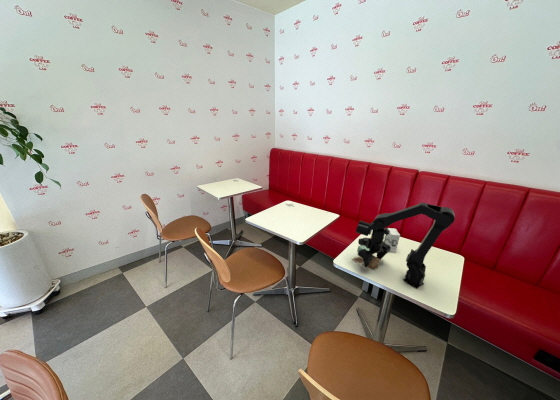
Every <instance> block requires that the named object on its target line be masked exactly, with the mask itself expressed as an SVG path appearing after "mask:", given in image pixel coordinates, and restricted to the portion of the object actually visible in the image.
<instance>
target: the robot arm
mask: <svg viewBox="0 0 560 400" xmlns="http://www.w3.org/2000/svg"><path fill="white" fill-rule="evenodd" d="M419 215H423V216H426V217H428V218H430V219H432V220H433V224H432V225H431V227H430V229H429V230H428V232H427V233H426V235H425V236H424V238H423V239H422V240H421V242H420V244H419V246H418V247H417V248H416V249H415V250H414V249H410V252H409V253H408V254H407V256H406V260H405V262H406V267H407V270H406V272H405V275H404V278H403V281H404V282H405V283H407V284H409V285H410V286H411V287H413V288H414V289H419V288H420V287H422V286H423V285H424V284H425V282H424V280H425V277H426V269H427V268H426V267H427V266H426V264H425V263H424V262H425V261H424V260H425V259H426V256H427V254H428V253H429V252H430V250H431V248H432V247H433V246H434V244H435V242H436V241H437V240H438V238H439V237H440V236H441V234H442V232H444V231H445V230H447V229H448V228H449V227H451V225H452V224H453V223H454V222H455V220H456V217H455V211H454V210H453V209H452V208H451V207H447V206H443V207H442V206H439V205H435V204H431V203H426V202H423V201H422V202H419V203H417V204H415V205H412V206H409V207H405V208H403V209H401V210H398V211H397V210H396V211H394V212H386V213H380V214H378V215H376V216H375V218H374V220H373V221H371V222H370V223H369V222H366V221H363V220H359V221H358V224H357V227H356V228H355V233H356V234H360V235H363V236H365V237H362V238H359V239H358V246H360V245H363V246H366V248H369V251H367V250H366V249H362V250H360V251H358V252H357V256H360V257H361V258H363V261H364V264H363V265H364V267H365V268H368V267H367V266H368V265H369V263H370V262H371V261H372V257H373V255H375V254H376V256H375V257H377V258H379V259H380V261H381V260H382V259H383V258H384V257H385V256H386V255H387V254H388V253H390V252H389V251H390V250H391V247H390V246H389V245H387V244H385V242H384V239H385V235H386V234H387V235H389V233H390V231H389V230H388V228H389V226H391V225H392V224H395V223H396V222H399V221H403V220H405V219H410V218H412V217H416V216H419ZM370 235H371V236H370ZM368 236H370V237H371V238H370V237H368Z"/></svg>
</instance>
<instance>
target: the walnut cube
mask: <svg viewBox="0 0 560 400" xmlns="http://www.w3.org/2000/svg"><path fill="white" fill-rule="evenodd" d="M380 262H381V260H380V259H379V258H377V257H376V256H375V254H373V257H372V261H371V262H370V263H369V265H368V266H367V267H366V268H368V269H369V270H370V271H373V270H375V269H378V268H379V266H380Z"/></svg>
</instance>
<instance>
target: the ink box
mask: <svg viewBox="0 0 560 400" xmlns="http://www.w3.org/2000/svg"><path fill="white" fill-rule="evenodd" d="M387 228H388V230H389V231H390V233H389V235H387V234H385V235H384V240H383V241H384V242H385V244H387V245H389V246H390V247H391V250H390V251H389V252H388V253H396V252H397V248H398V246H399V245H398V244H399V240H400V237H401V234H400V233H399V232H398V230H397V228H390V227H387Z"/></svg>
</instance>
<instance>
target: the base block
mask: <svg viewBox="0 0 560 400" xmlns="http://www.w3.org/2000/svg"><path fill="white" fill-rule="evenodd" d="M362 249H366V250H367V251H369V248H366V246H363V245H358V246H357V250H356V253H358V251H360V250H362Z"/></svg>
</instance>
